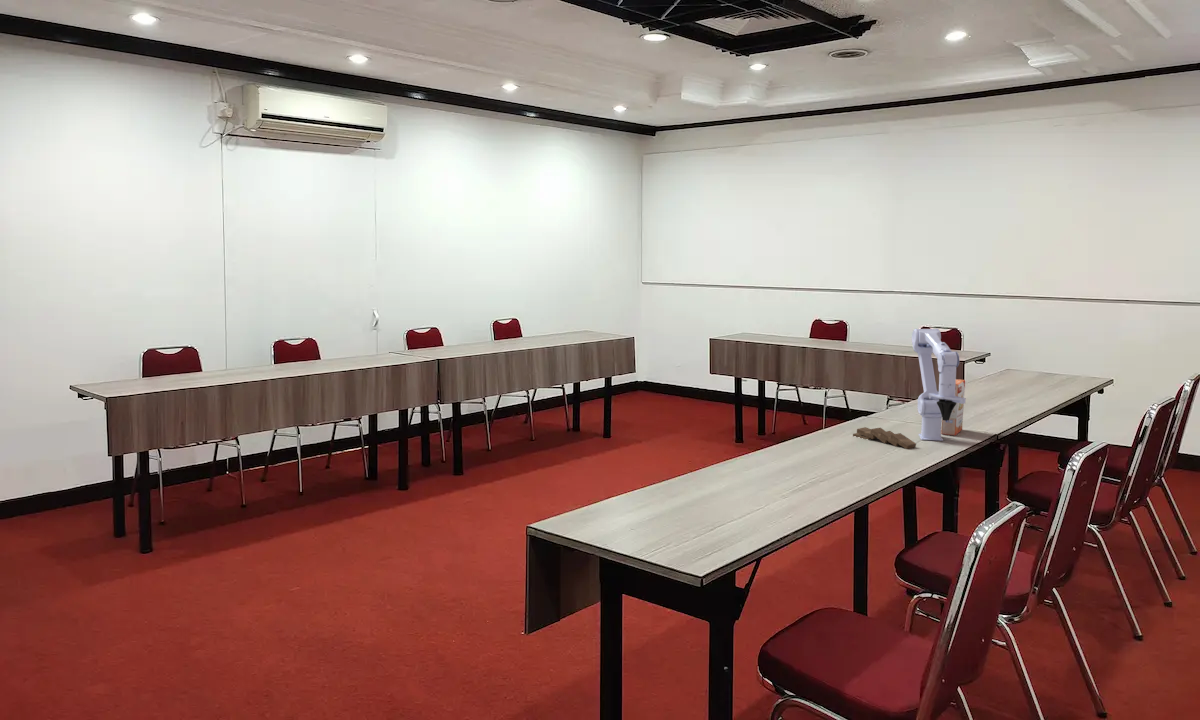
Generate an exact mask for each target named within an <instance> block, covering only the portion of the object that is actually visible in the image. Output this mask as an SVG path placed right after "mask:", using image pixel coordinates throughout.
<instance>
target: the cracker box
mask: <svg viewBox="0 0 1200 720" xmlns="http://www.w3.org/2000/svg"><path fill="white" fill-rule="evenodd" d="M965 392H966V380H965V379H957V378H956V387H955V396H958V397H962V398H965ZM947 400H950V399H947ZM964 405H965V403H964V404H960V403H956V405H955V407H954V408H953V410H952V413H951V415H950V419H949V420H947V421H944V420H943V419H942V422H941V435H944V436H945V435H946V436H947V435H948V436H957V435H958V434H959V433H961V431H962V430H963V421H964V408H965V407H964Z"/></svg>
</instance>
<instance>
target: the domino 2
mask: <svg viewBox="0 0 1200 720" xmlns="http://www.w3.org/2000/svg"><path fill="white" fill-rule="evenodd" d="M854 436H856V438H858V437H860V438H859V439H862V438H863V440H866V439H868V441H870V439H871V438H869V437H866V436H864V435H861V434H859V433H857V432H855V433H852V437H854ZM875 439H876V440H877V439H878V438H875ZM875 439H874V440H875ZM871 440H872V439H871Z"/></svg>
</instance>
